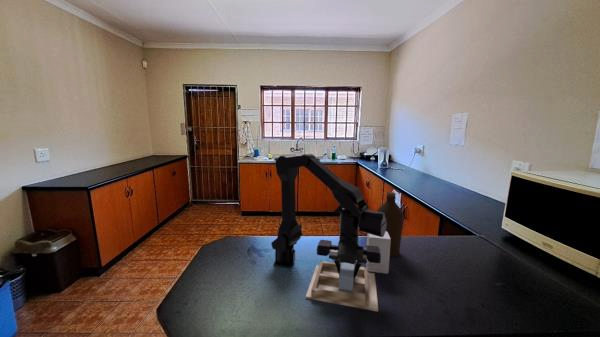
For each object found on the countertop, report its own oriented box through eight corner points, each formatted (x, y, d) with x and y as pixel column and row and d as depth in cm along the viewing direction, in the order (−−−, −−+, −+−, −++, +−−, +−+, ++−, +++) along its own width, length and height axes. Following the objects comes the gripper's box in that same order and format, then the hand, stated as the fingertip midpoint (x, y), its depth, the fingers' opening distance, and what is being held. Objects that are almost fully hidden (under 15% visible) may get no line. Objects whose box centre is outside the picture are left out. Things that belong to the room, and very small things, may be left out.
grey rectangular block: (338, 296, 69) (339, 275, 69) (341, 272, 82) (342, 254, 81) (352, 298, 68) (353, 277, 68) (353, 274, 81) (354, 255, 80)
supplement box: (388, 274, 83) (391, 239, 81) (366, 271, 84) (368, 237, 83) (385, 263, 90) (387, 231, 88) (365, 261, 91) (367, 229, 90)
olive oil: (390, 245, 106) (394, 189, 102) (406, 256, 95) (411, 195, 92) (368, 247, 103) (372, 190, 100) (382, 259, 93) (387, 196, 90)
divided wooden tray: (305, 298, 69) (306, 289, 69) (316, 266, 87) (316, 259, 86) (378, 311, 65) (378, 302, 64) (374, 275, 82) (374, 267, 82)
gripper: (314, 235, 68) (312, 286, 69) (384, 243, 63) (380, 298, 65) (320, 222, 78) (319, 267, 80) (380, 228, 74) (377, 275, 76)
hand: (346, 276), depth 75 cm, fingers closed on grey rectangular block, 4 cm apart
